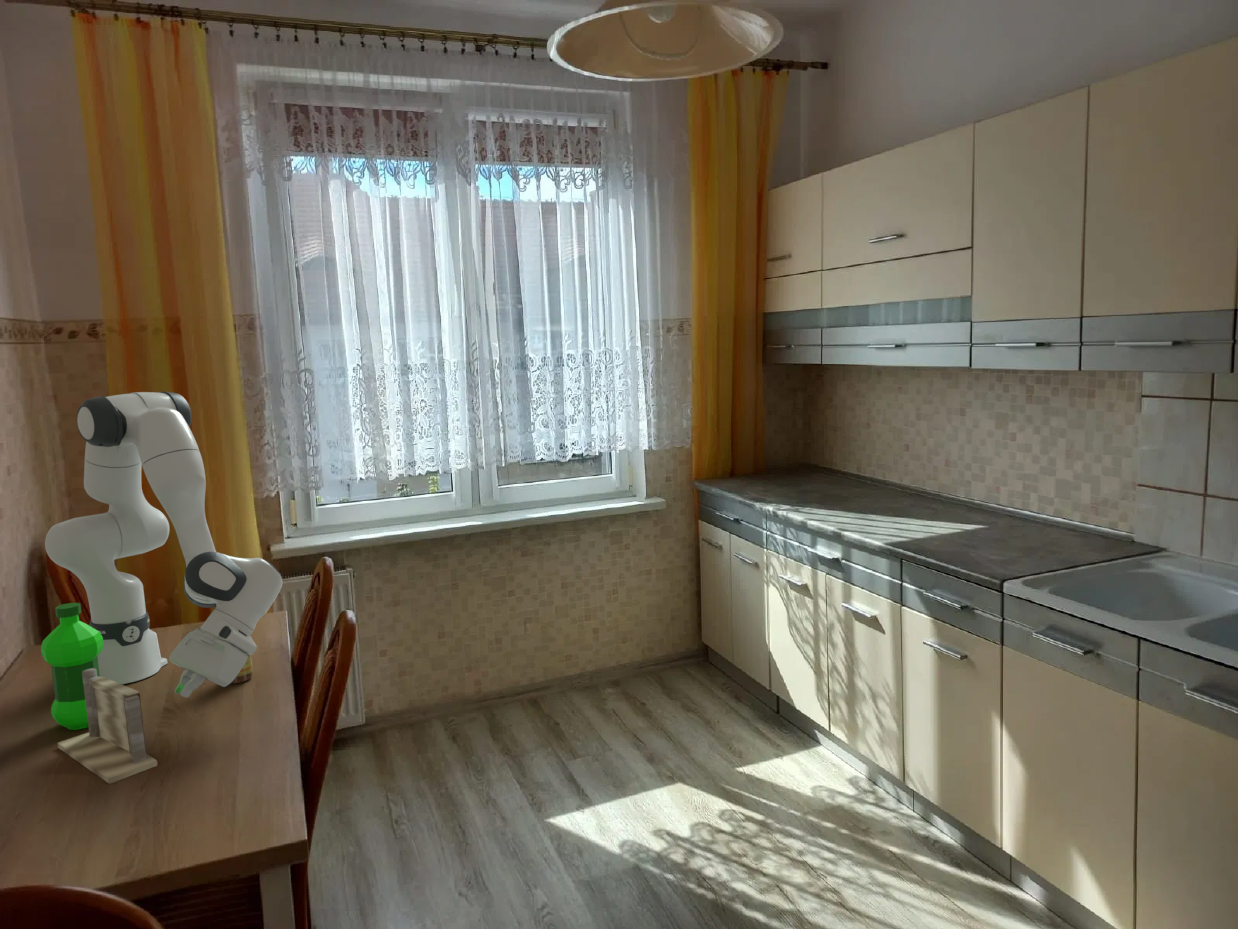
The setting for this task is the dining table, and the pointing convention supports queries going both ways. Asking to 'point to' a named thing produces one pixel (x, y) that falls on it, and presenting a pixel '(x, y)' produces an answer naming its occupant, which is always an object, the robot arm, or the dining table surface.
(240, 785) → the dining table surface
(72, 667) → the plastic bottle
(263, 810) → the dining table surface
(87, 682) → the wooden stand
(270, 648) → the dining table surface
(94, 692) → the gate
